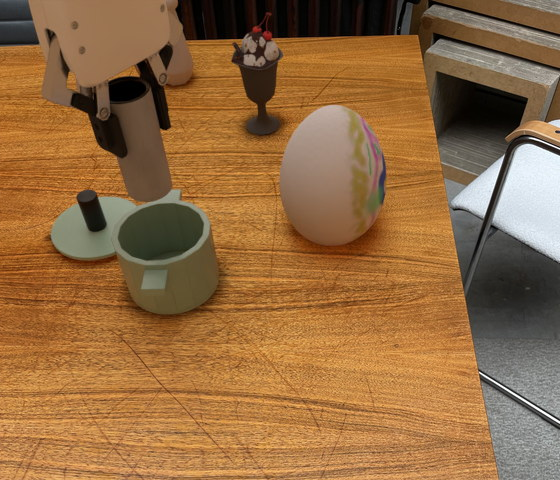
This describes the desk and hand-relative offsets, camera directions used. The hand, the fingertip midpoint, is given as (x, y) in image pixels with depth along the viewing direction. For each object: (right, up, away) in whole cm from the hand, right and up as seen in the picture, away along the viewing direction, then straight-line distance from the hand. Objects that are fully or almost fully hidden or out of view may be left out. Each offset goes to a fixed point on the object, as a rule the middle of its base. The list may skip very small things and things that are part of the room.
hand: (136, 136), depth 58 cm
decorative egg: (+20, -4, +19) cm, 28 cm away
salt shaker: (-3, +25, +42) cm, 49 cm away
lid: (-9, -4, +20) cm, 23 cm away
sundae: (+11, +14, +33) cm, 37 cm away
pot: (+1, -11, +15) cm, 19 cm away
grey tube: (0, -4, +5) cm, 6 cm away
